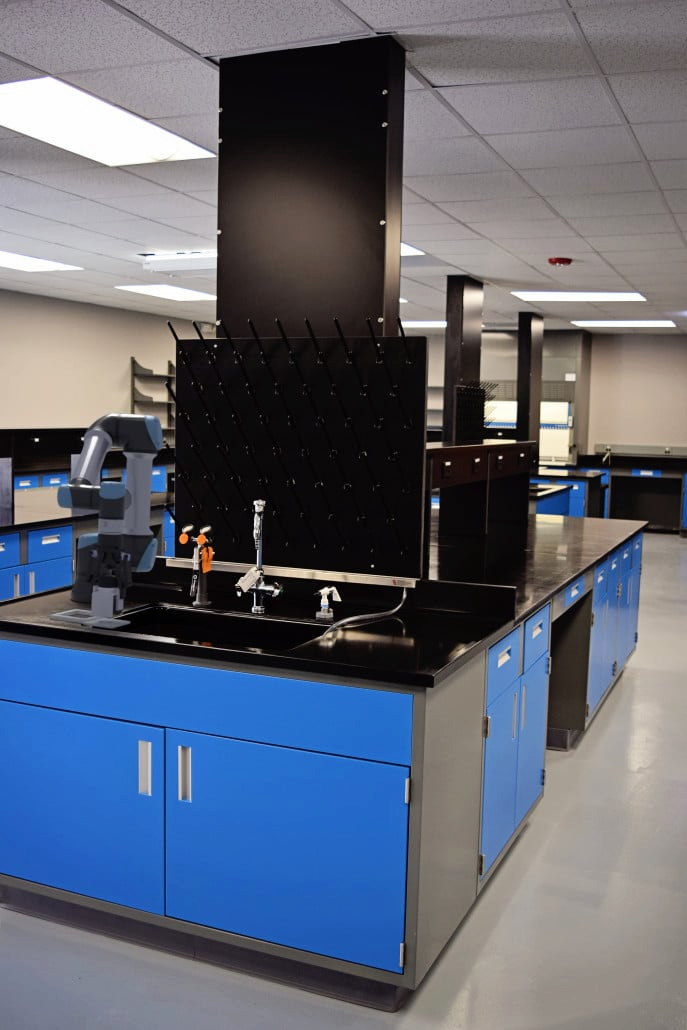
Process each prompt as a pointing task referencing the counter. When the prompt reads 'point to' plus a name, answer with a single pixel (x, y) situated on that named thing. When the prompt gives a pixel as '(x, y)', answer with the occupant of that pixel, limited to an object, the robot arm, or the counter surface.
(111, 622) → the pad
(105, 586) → the medicine bottle
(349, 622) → the counter surface
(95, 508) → the robot arm
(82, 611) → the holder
